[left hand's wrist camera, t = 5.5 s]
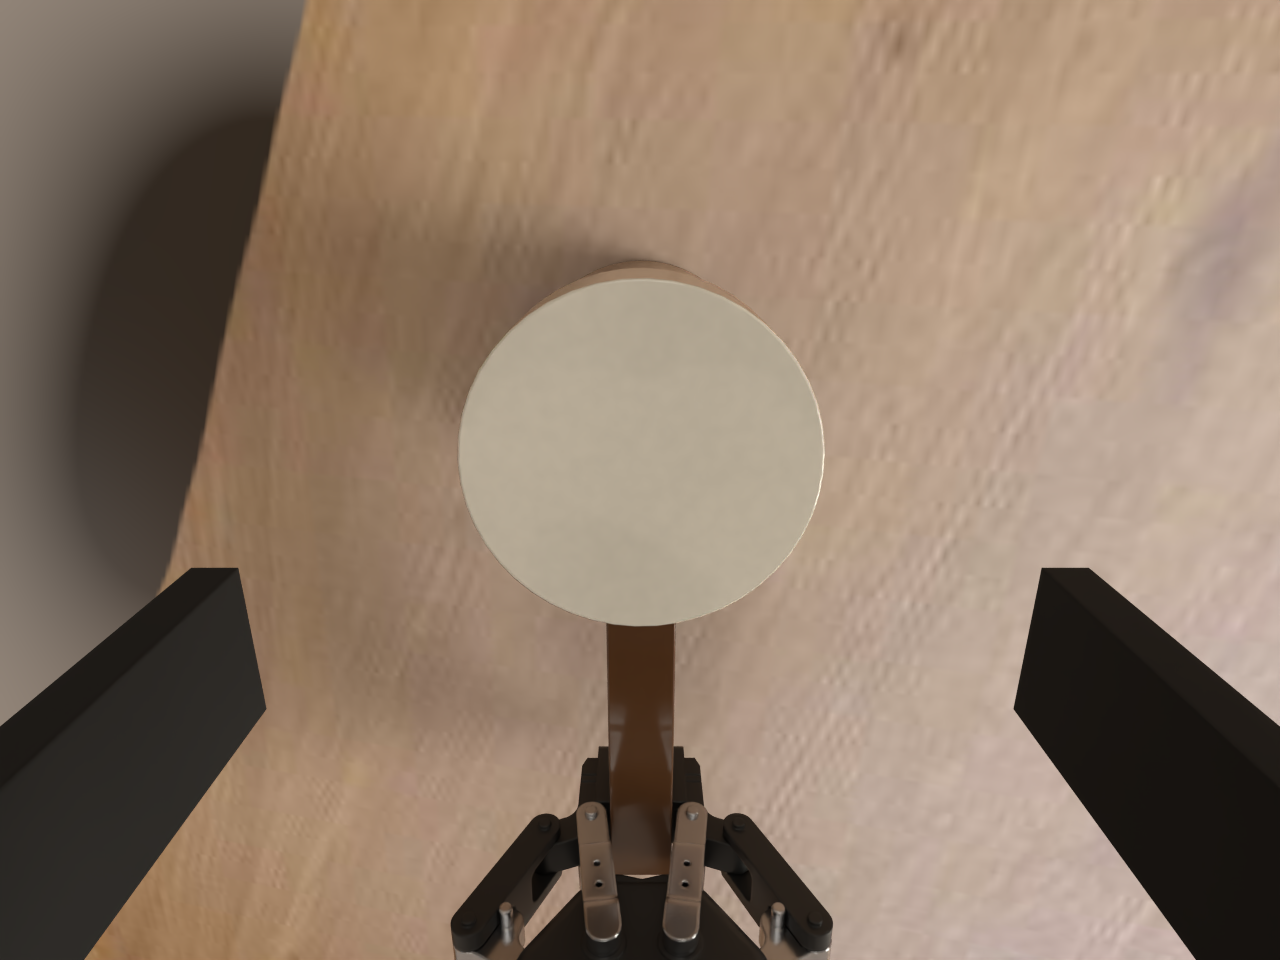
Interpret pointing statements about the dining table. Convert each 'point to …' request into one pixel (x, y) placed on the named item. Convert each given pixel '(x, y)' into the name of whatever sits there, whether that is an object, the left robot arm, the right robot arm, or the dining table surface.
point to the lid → (641, 448)
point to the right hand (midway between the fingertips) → (641, 762)
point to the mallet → (641, 728)
